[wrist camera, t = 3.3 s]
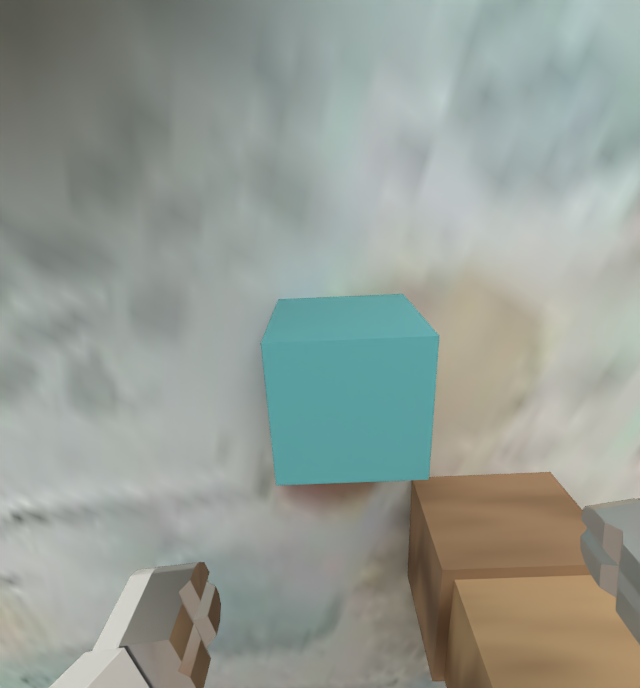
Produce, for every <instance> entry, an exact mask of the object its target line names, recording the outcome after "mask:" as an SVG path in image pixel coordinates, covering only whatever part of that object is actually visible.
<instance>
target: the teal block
mask: <svg viewBox="0 0 640 688" xmlns="http://www.w3.org/2000/svg"><path fill="white" fill-rule="evenodd" d="M438 346H439V335H438V334H437V333H436V332H435V330H434V329H433V328H432V327H431V326H430V325H429V323H428V322H427V321H426V320H425V319H424V318H423V317H422V315H421V314H420V313H419V312H418V311H417V310H416V309H415V307H414V306H413V305H412V304H411V303H410V302H409V300H408V299H407V298H406V297H405V296H404V295H403V294H392V295H369V296H346V297H323V298H300V299H278V302H277V304H276V307H275V309H274V312H273V314H272V317H271V319H270V322H269V324H268V327H267V329H266V332H265V334H264V337H263V339H262V342H261V349H262V358H263V368H264V377H265V386H266V396H267V405H268V414H269V423H270V433H271V442H272V451H273V461H274V470H275V479H276V485H299V484H325V483H352V482H378V481H405V480H429V470H430V456H431V442H432V429H433V415H434V401H435V387H436V374H437V360H438Z"/></svg>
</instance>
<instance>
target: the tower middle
mask: <svg viewBox="0 0 640 688" xmlns="http://www.w3.org/2000/svg"><path fill="white" fill-rule="evenodd" d="M615 610H616V598H615V597H614V596H612V595H611V594H609V593H608V592H606V591H604V590H603V589H601V588H600V587H599V586H598V585H597V583H596V582H595V580H594V579H593V577H592V576H591V575H577V576H548V577H520V578H492V579H464V580H455V581H454V590H453V599H452V608H451V617H450V626H449V635H448V644H447V653H446V662H445V671H444V679H445V683H446V687H447V688H640V645H639V643H638V642H637V641H636V639H635V638H634V636H633V635H632V634H631V632H630V631H629V629H628V628H627V626H626V625H625V624H624V622H623V621H622V619H621V618H620V616H619V615H618V614H617V612H616V611H615Z"/></svg>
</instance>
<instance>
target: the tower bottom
mask: <svg viewBox="0 0 640 688" xmlns="http://www.w3.org/2000/svg"><path fill="white" fill-rule="evenodd" d="M581 517H582V509H581V508H580V507H579V506H578V505H577V503H576V502H575V501H574V500H573V499H572V497H571V496H570V495H569V494H568V493H567V492H566V490H565V489H564V488H563V487H562V486H561V484H560V483H559V482H558V481H557V480H556V478H555V477H554V476H553V475H552V474H551V472H540V473H516V474H492V475H468V476H444V477H429V480H412V491H411V513H410V536H409V558H408V579H409V583H410V587H411V592H412V596H413V600H414V604H415V609H416V613H417V617H418V622H419V626H420V630H421V634H422V639H423V643H424V647H425V652H426V656H427V660H428V665H429V669H430V673H431V677H432V681H445V679H444V671H445V662H446V653H447V644H448V635H449V626H450V617H451V608H452V599H453V590H454V581H455V580H464V579H492V578H520V577H548V576H577V575H591V574H590V572H589V570H588V568H587V566H586V564H585V562H584V559H583V556H582V552H581V549H580V536H581V535H582V534H583V533H584V532H585V531H586V529H587V527H586V526H585V524H584V523H583V522H582V520H581Z"/></svg>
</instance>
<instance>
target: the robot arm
mask: <svg viewBox="0 0 640 688" xmlns="http://www.w3.org/2000/svg"><path fill="white" fill-rule="evenodd" d="M581 520H582V522H583V523H584V524H585V526H586V527H587V529H586V531H585V532H584V533H583V534H582V535H581V536H580V549H581V552H582V556H583V559H584V562H585V564H586V566H587V568H588V570H589V572H590V574H591V576H592V577H593V579H594V580H595V582H596V583H597V585H598V586H599V587H600V588H601V589H603V590H604V591H606V592H608V593H609V594H611V595H612V596H614V597H615V598H616V610H615V611H616V612H617V614H618V615H619V616H620V618H621V619H622V621H623V622H624V624H625V625H626V626H627V628H628V629H629V631H630V632H631V634H632V635H633V636H634V638H635V639H636V641H637V642H638V643H639V645H640V498H638V499H627V500H621V501H615V502H608V503H602V504H596V505H589V506H585V507H584V509H583V510H582V517H581ZM208 575H209V571H208V569H207V567H206V565H205V563H204V562H198V563H189V564H180V565H171V566H162V567H155V568H147V569H139V570H136V571H135V572H134V573H133V574H132V575H131V576H130V578H129V580H128V582H127V584H126V586H125V588H124V589H123V591H122V593H121V595H120V597H119V599H118V601H117V603H116V605H115V607H114V609H113V611H112V613H111V615H110V617H109V619H108V621H107V623H106V625H105V627H104V628H103V630H102V632H101V634H100V636H99V638H98V640H97V642H96V644H95V646H94V648H93V650H92V651H89V652H85V653H84V654H83V655H82V656H81V657H80V658H79V659H78V660H77V661H76V662H75V663H74V664H72V665H71V666H70V667H69V668H68V669H67V670H66V671H65V672H64V673H63V674H62V675H61V676H60V677H59V678H58V679H57V680H56V681H55V682H54V683H53V684H52V685H51V686H50V687H49V688H204V684H205V680H206V676H207V672H208V668H209V664H210V660H211V658H210V655H209V652H208V650H207V647H208V645H209V644H210V643H211V642H212V640H213V639H214V638H215V636H216V635H217V631H218V627H219V623H220V610H221V603H220V597H219V593H218V591H217V588H216V586H214V585H213V584H211V583H210V582H208V581H207V579H208Z"/></svg>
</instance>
